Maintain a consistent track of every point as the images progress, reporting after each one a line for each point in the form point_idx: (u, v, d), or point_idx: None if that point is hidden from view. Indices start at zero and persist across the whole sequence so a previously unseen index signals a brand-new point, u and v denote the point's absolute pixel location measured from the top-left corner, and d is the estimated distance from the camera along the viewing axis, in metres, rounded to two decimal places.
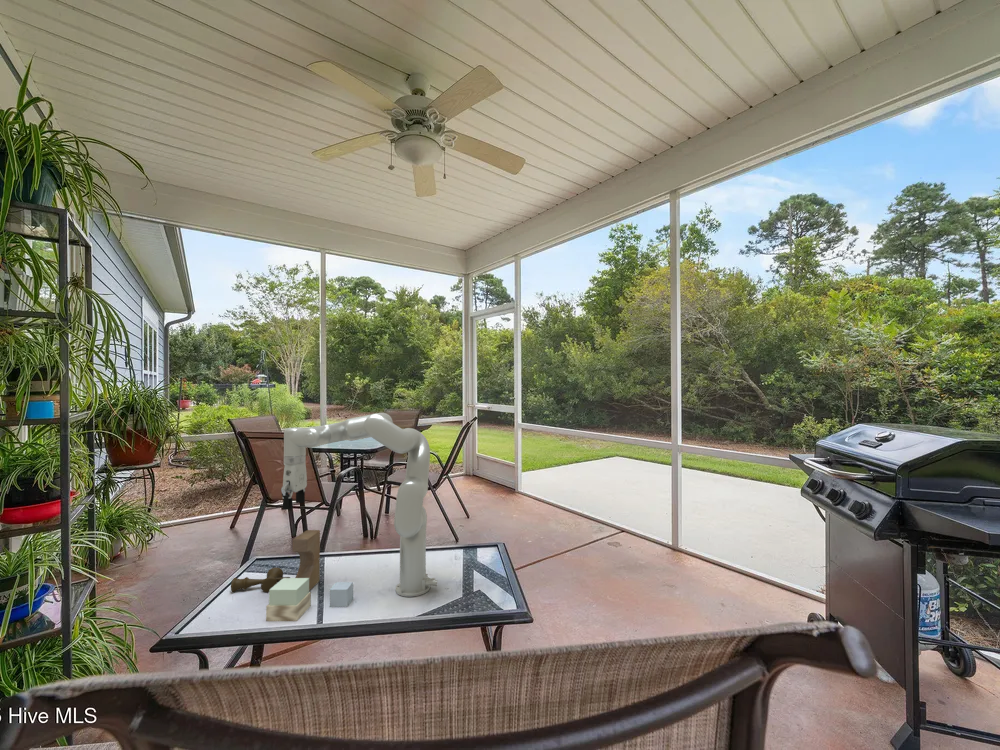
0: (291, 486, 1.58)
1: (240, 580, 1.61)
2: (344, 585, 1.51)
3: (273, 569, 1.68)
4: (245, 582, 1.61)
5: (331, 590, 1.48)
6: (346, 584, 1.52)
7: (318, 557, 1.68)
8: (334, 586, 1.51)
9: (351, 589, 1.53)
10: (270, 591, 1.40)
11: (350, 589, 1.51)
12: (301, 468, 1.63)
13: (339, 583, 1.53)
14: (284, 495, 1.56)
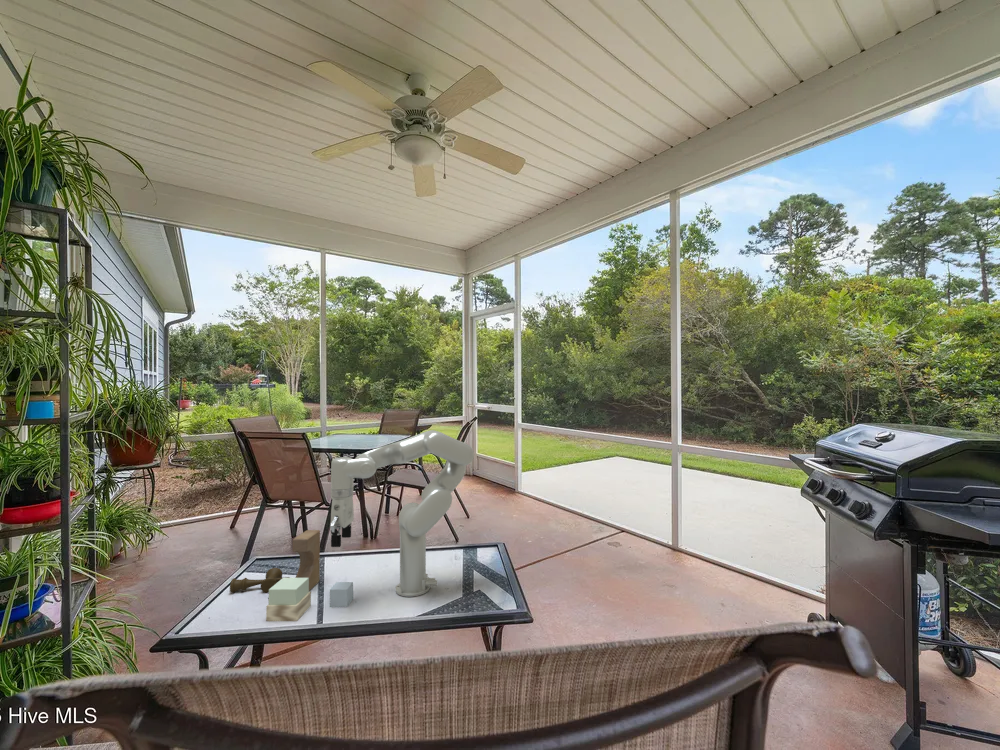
0: (340, 522, 1.47)
1: (239, 581, 1.61)
2: (344, 585, 1.51)
3: (272, 569, 1.67)
4: (244, 582, 1.60)
5: (331, 590, 1.48)
6: (346, 584, 1.52)
7: (318, 557, 1.68)
8: (334, 586, 1.51)
9: (351, 589, 1.53)
10: (270, 591, 1.40)
11: (350, 589, 1.51)
12: (349, 501, 1.53)
13: (339, 583, 1.53)
14: (333, 532, 1.45)
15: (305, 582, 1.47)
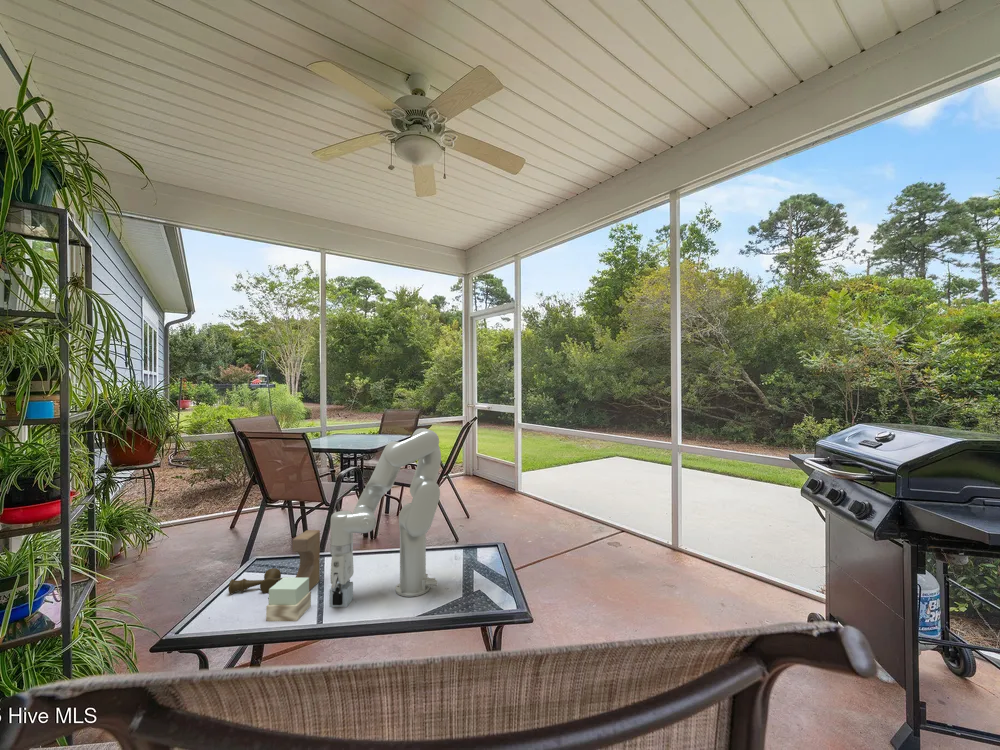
0: (340, 581, 1.47)
1: (238, 582, 1.60)
2: (344, 585, 1.51)
3: (271, 570, 1.67)
4: (243, 583, 1.59)
5: (331, 590, 1.48)
6: (346, 584, 1.52)
7: (318, 557, 1.68)
8: None
9: (351, 589, 1.53)
10: (270, 590, 1.41)
11: (350, 589, 1.51)
12: (349, 556, 1.52)
13: None
14: (334, 591, 1.45)
15: (305, 582, 1.47)
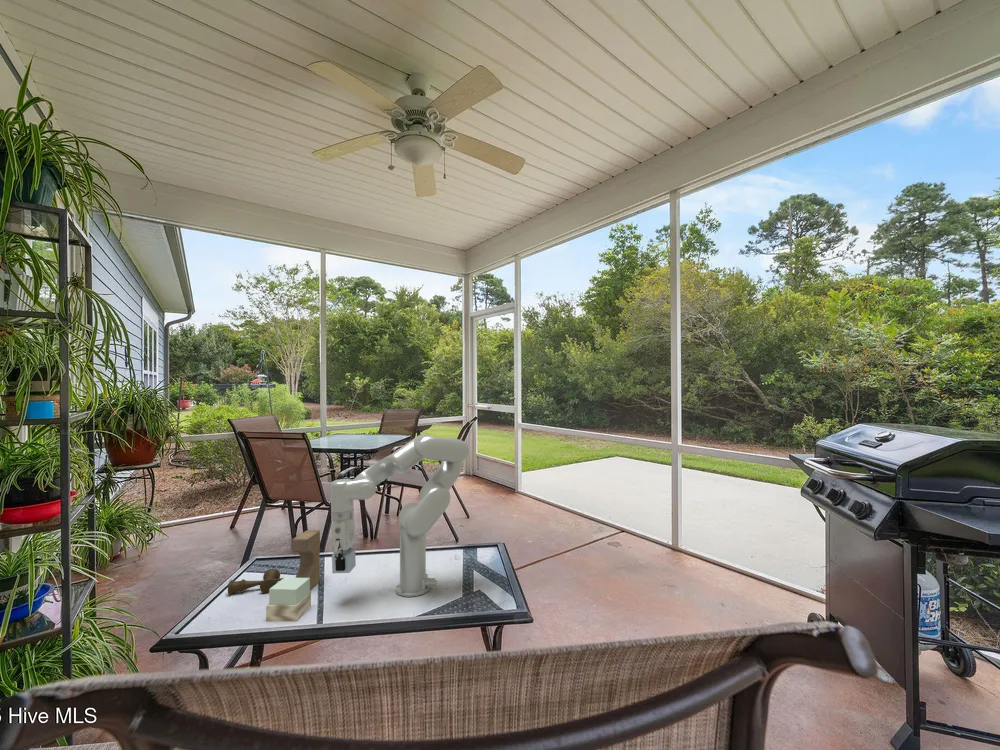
0: (342, 547, 1.47)
1: (237, 582, 1.59)
2: (346, 552, 1.52)
3: (270, 570, 1.66)
4: (243, 584, 1.59)
5: (333, 556, 1.49)
6: (348, 551, 1.53)
7: (318, 557, 1.68)
8: None
9: (354, 556, 1.54)
10: (270, 590, 1.41)
11: (352, 556, 1.52)
12: (350, 523, 1.52)
13: None
14: (337, 556, 1.46)
15: (306, 582, 1.46)
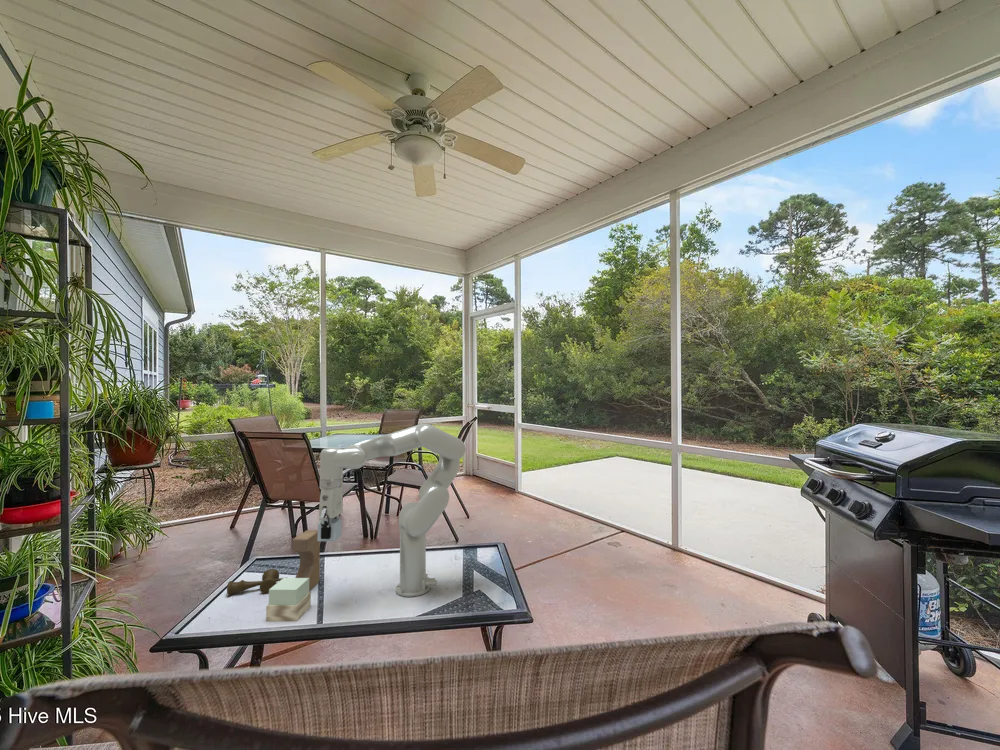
0: (328, 515, 1.46)
1: (236, 583, 1.59)
2: (333, 521, 1.51)
3: (269, 571, 1.66)
4: (242, 584, 1.58)
5: (319, 524, 1.48)
6: (335, 520, 1.52)
7: (318, 557, 1.68)
8: None
9: (340, 526, 1.52)
10: (270, 591, 1.40)
11: (338, 525, 1.51)
12: (338, 492, 1.51)
13: None
14: (323, 524, 1.45)
15: (305, 582, 1.46)
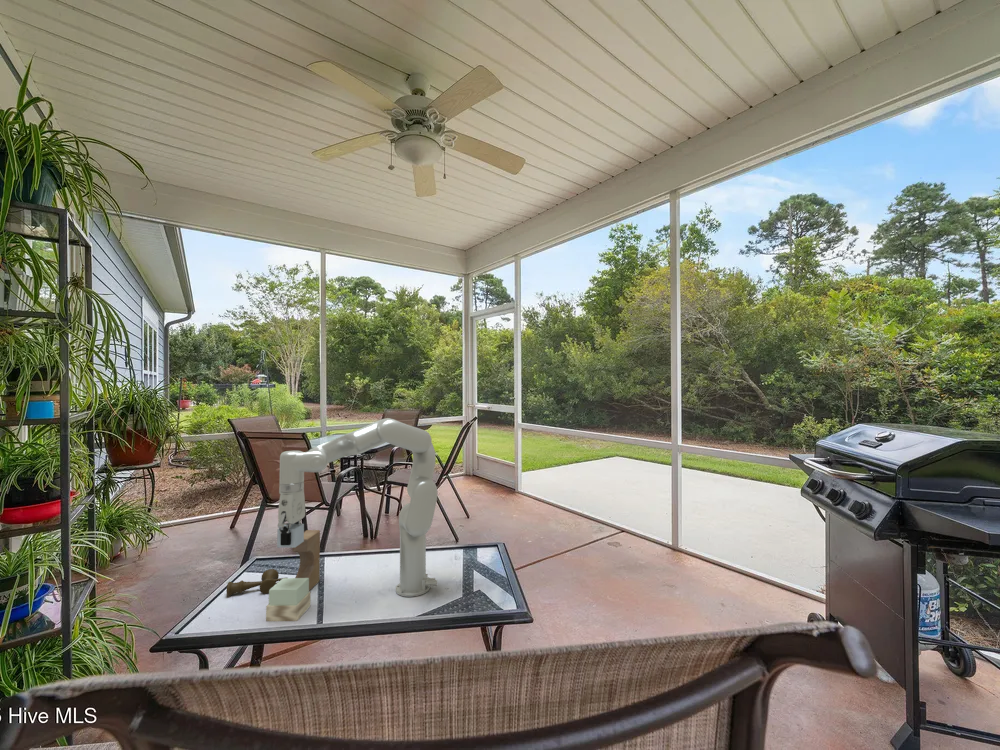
0: (288, 520, 1.41)
1: (236, 584, 1.58)
2: (293, 526, 1.45)
3: (268, 571, 1.66)
4: (242, 585, 1.58)
5: (279, 530, 1.43)
6: (296, 525, 1.47)
7: (318, 557, 1.68)
8: None
9: (302, 531, 1.47)
10: (270, 591, 1.40)
11: (300, 530, 1.46)
12: (299, 496, 1.46)
13: None
14: (282, 530, 1.40)
15: (305, 582, 1.46)
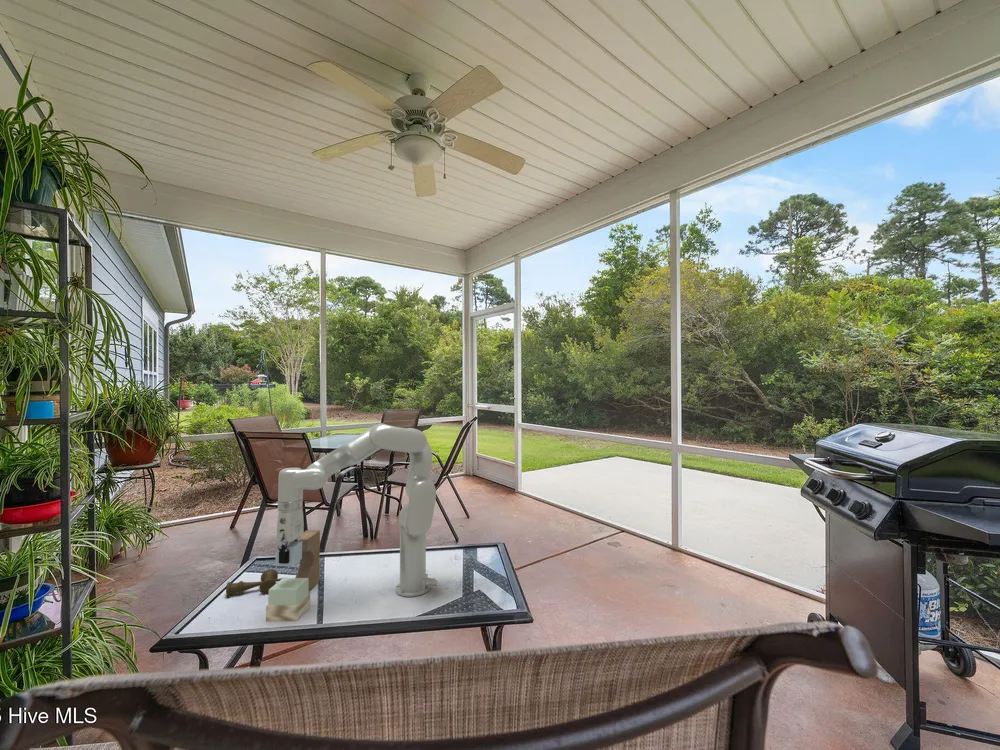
0: (286, 539, 1.41)
1: (235, 584, 1.58)
2: (292, 544, 1.45)
3: (268, 571, 1.66)
4: (241, 585, 1.58)
5: (277, 548, 1.42)
6: (294, 543, 1.46)
7: (318, 557, 1.68)
8: None
9: (300, 548, 1.47)
10: (269, 591, 1.40)
11: (298, 548, 1.45)
12: (298, 514, 1.46)
13: None
14: (280, 548, 1.39)
15: (305, 582, 1.46)
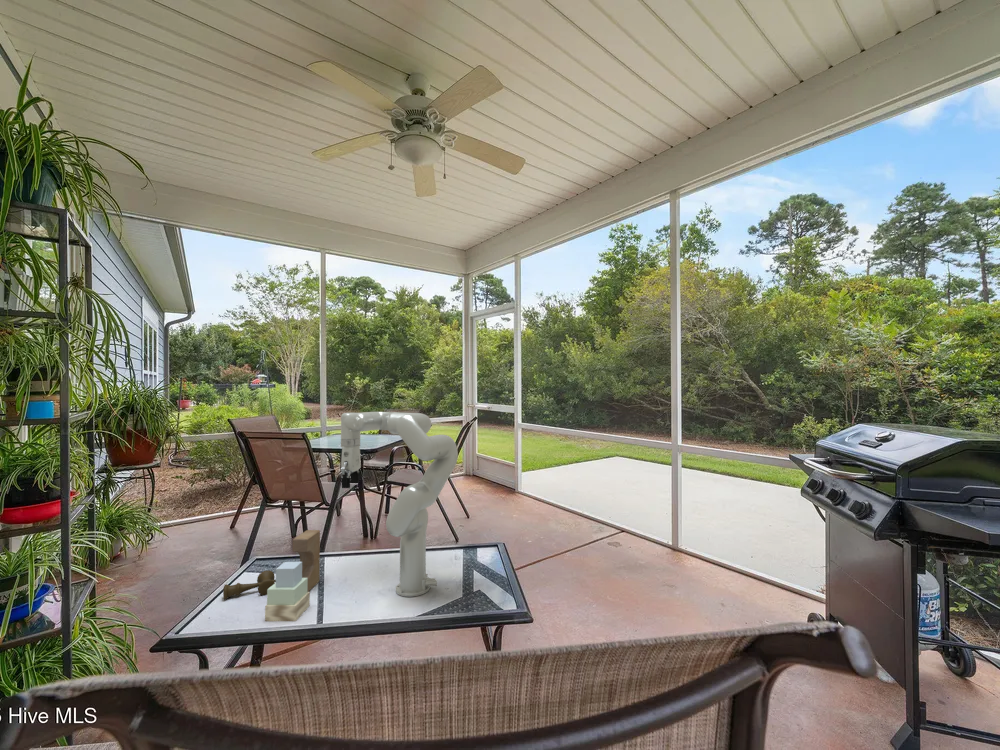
0: (349, 466, 1.70)
1: (233, 586, 1.56)
2: (292, 565, 1.45)
3: (265, 572, 1.65)
4: (239, 587, 1.56)
5: (277, 569, 1.42)
6: (294, 564, 1.46)
7: (318, 557, 1.68)
8: (281, 566, 1.44)
9: (300, 569, 1.47)
10: (268, 591, 1.40)
11: (298, 569, 1.45)
12: (357, 450, 1.75)
13: (287, 563, 1.47)
14: (343, 474, 1.68)
15: (304, 582, 1.47)
